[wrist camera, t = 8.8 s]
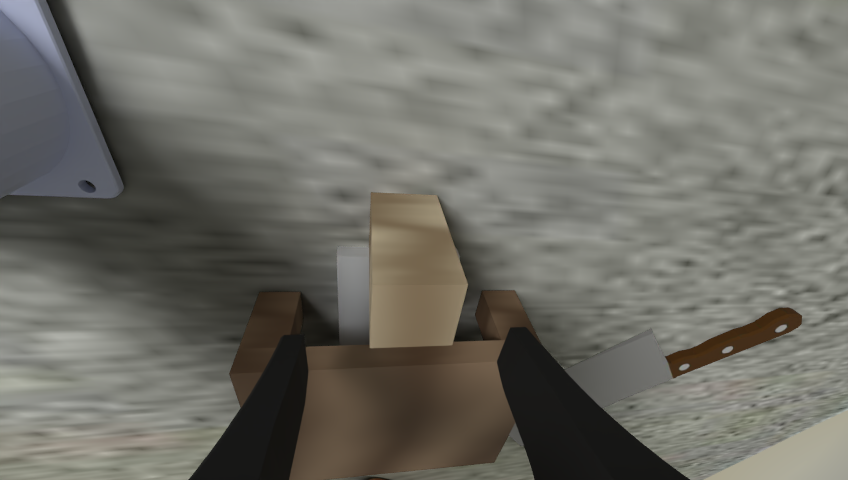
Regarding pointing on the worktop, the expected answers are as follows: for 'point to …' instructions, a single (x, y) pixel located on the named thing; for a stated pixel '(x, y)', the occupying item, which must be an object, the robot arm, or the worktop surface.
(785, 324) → the kitchen knife
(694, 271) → the worktop surface
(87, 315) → the worktop surface
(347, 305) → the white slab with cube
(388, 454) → the low shelf
